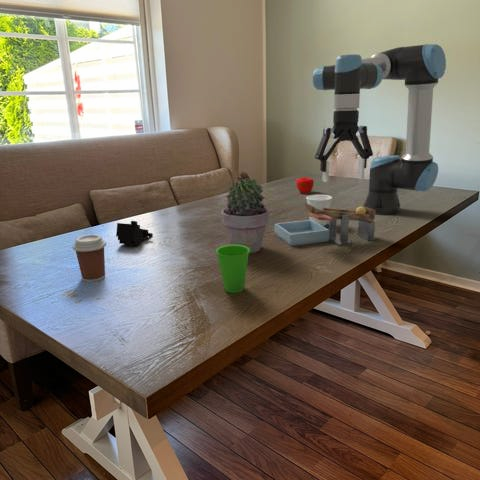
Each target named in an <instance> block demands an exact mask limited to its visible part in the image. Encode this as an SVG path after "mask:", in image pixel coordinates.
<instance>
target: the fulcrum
mask: <svg viewBox="0 0 480 480" xmlns="http://www.w3.org/2000/svg"><path fill="white" fill-rule="evenodd" d="M337 221H338V219H332V221H328V230H329V241H328V242H331V243H333V244H334V245H335V246H337V247H341V246H343V247H344V246H350V245H352V242H351V240H349V227H350V226H349V225H350V223H349V222H350V220H349V215H348V214H346V215H341V219H340V233H339V234H340V235H339V234H337Z"/></svg>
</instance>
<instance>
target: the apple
mask: <svg viewBox="0 0 480 480" xmlns="http://www.w3.org/2000/svg"><path fill="white" fill-rule="evenodd" d="M295 185H296V188H297V190H298V192H299V193H300V194H304V195H307V194H310V193H311V191H312V189H313V188H314V179H313V178H311V177H306V176H304V177H299V178H296V183H295Z"/></svg>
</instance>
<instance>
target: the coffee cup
mask: <svg viewBox="0 0 480 480" xmlns="http://www.w3.org/2000/svg"><path fill="white" fill-rule="evenodd" d="M106 246H107V241H106V240H104V239H103V237H102V236H101V235H100V234H86V235H81V236H78V237H77V238H76V239H75V242H74V243H73V244H72V250H73V251H75V253H76V258H77V262H78V265H79V271H80V274H81V279H82V281H84V282H86V283H87V282H88V283H93V282H98V281H99V282H100V281H101V280H103V279H105V278H106V262H105V247H106Z"/></svg>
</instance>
